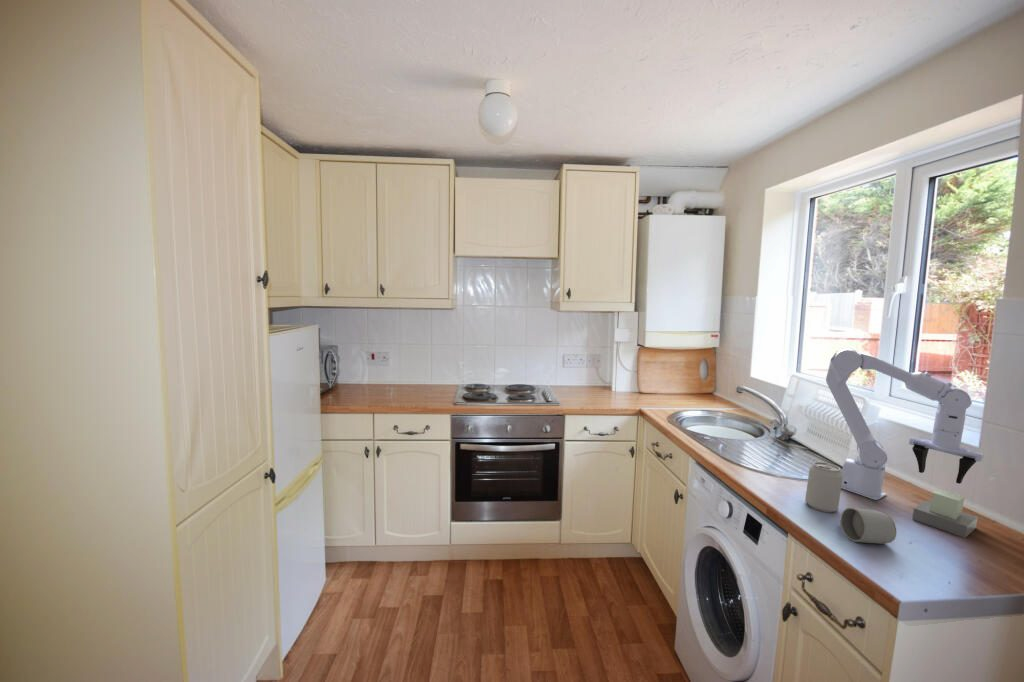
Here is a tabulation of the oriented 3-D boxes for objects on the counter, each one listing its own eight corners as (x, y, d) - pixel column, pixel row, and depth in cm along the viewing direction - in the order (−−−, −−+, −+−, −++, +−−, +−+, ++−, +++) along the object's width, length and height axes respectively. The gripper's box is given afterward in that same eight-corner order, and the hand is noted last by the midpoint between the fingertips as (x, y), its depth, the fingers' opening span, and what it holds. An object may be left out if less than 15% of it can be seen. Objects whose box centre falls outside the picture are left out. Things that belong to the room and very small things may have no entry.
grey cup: (897, 550, 100) (902, 518, 99) (862, 548, 100) (866, 516, 99) (860, 526, 110) (864, 497, 110) (828, 525, 110) (832, 496, 110)
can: (798, 502, 122) (804, 461, 120) (815, 499, 125) (821, 458, 123) (826, 515, 115) (833, 472, 113) (844, 511, 118) (850, 469, 116)
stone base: (912, 518, 116) (914, 508, 115) (924, 510, 121) (926, 500, 121) (964, 537, 107) (967, 526, 107) (975, 528, 113) (977, 517, 112)
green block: (929, 510, 114) (932, 492, 114) (935, 506, 117) (938, 488, 117) (955, 519, 110) (958, 500, 110) (961, 515, 113) (964, 496, 112)
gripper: (908, 424, 124) (901, 469, 125) (981, 440, 112) (972, 490, 113) (917, 421, 127) (909, 465, 129) (988, 436, 115) (979, 485, 117)
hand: (939, 477), depth 121 cm, fingers open, 7 cm apart
